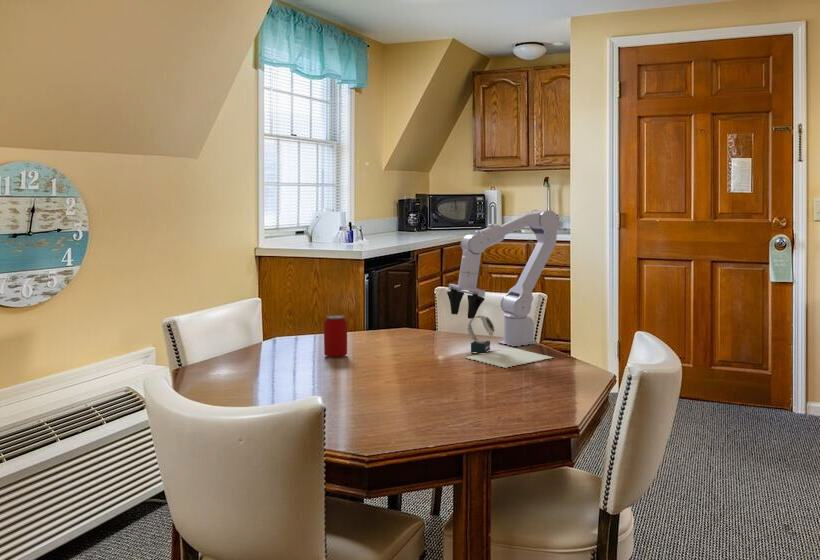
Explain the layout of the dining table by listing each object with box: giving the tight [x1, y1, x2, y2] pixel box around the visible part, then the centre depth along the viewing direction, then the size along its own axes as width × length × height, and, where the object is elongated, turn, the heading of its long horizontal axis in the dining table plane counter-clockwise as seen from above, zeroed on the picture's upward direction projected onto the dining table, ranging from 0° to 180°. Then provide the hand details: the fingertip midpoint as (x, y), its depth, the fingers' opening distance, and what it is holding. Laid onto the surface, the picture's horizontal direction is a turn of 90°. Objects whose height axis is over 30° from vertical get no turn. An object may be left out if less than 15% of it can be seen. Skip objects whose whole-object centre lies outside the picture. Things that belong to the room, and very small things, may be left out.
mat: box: [465, 348, 554, 369], centre depth 214 cm, size 20×16×1 cm
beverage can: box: [323, 314, 348, 359], centre depth 217 cm, size 7×7×12 cm
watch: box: [467, 315, 495, 353], centre depth 223 cm, size 6×8×11 cm
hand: (462, 316), depth 228 cm, fingers open, 7 cm apart
